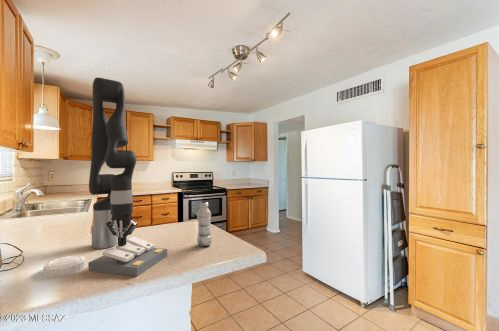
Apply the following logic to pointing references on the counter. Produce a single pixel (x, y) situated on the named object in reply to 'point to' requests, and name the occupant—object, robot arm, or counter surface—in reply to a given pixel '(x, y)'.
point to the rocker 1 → (118, 254)
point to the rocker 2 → (140, 243)
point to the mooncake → (64, 266)
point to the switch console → (128, 263)
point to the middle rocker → (131, 249)
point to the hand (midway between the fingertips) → (122, 246)
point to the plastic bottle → (204, 225)
